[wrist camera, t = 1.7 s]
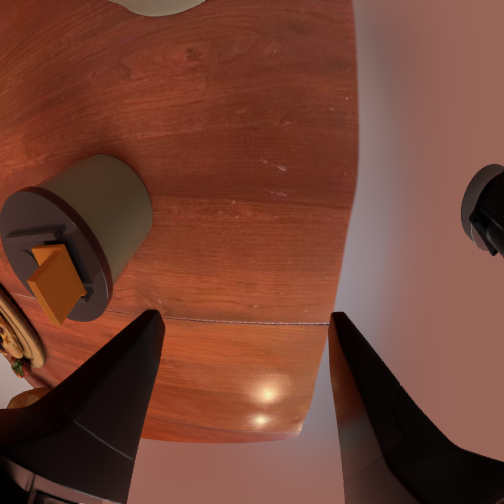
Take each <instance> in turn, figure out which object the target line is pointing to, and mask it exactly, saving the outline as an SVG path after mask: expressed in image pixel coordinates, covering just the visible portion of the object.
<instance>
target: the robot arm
mask: <svg viewBox="0 0 504 504" xmlns="http://www.w3.org/2000/svg"><path fill="white" fill-rule="evenodd" d="M474 218H475V219H474ZM473 219H474V220H473ZM469 221H470V223H471V224H472V226H473V227H474V229H475V230H476V232H477V233H478V235H479V236H480V238H481V239H482V241H483V242H484V244H485V245H486V247H487V249H488V250H489V252H490V253H491V255H492V256H495V255H496V254H497V253H498V252H499V253H500V254H501V255H502V256H503V258H504V170H503V172H502V173H501V175H500V176H499V177H498V179H497V180H496V182H495V183H494V185H493V186H492V187H491V189H490V190H489V191H488V193H487V194H486V195H485V197H484V198H483V199H482V201H481V202H480V203H479V204H478V206H477V207H476V208H475V209H474V211H473V212H472V213H471V214H470V216H469ZM164 335H165V324H164V322H163V320H162V317H161V315H160V313H159V311H158V310H154V309H147V310H146V311H144V312H143V313H142V314H141V315H140V316H138V317H137V318H136V319H135V320H134V321H132V322H131V323H130V324H129V325H128V326H127V327H125V328H124V329H123V330H122V331H121V332H120V333H118V334H117V335H116V336H115V337H114V338H113V339H111V340H110V341H109V342H108V343H107V344H106V345H104V346H103V347H102V348H101V349H100V350H99V351H97V352H96V353H95V354H94V355H93V356H92V357H91V358H89V359H88V360H87V361H86V362H85V363H84V364H83V365H81V367H79V368H78V369H77V370H76V371H74V372H73V373H72V374H71V375H70V376H69V377H67V378H66V379H65V380H64V381H63V382H61V383H60V384H59V385H57V386H56V387H55V388H53V389H52V390H51V391H49V392H48V393H47V394H45V395H44V396H43V397H41V398H40V399H38V400H37V401H36V402H34V403H33V404H31V405H29V406H26V407H22V408H9V409H0V504H102V501H103V500H106V501H109V502H113V503H117V504H127V499H128V494H129V488H130V483H131V478H132V473H133V468H134V464H135V462H134V461H135V458H136V454H137V450H138V445H139V441H140V437H141V432H142V428H143V424H144V420H145V416H146V412H147V408H148V405H149V401H150V397H151V393H152V390H153V386H154V382H155V379H156V375H157V372H158V368H159V363H160V357H161V351H162V346H163V340H164ZM328 341H329V363H330V377H331V384H332V391H333V397H334V404H335V411H336V419H337V426H338V434H339V442H340V450H341V460H342V471H343V480H344V495H345V504H504V462H502V461H499V460H495V459H492V458H489V457H486V456H483V455H480V454H476V453H474V452H471V451H468V450H464V449H462V448H460V447H458V446H457V445H455V444H454V443H452V442H451V441H450V440H449V439H448V438H447V437H446V436H445V435H444V434H443V433H442V432H441V431H440V430H439V429H438V428H437V427H436V425H434V423H433V422H432V421H431V420H430V419H429V418H428V417H427V416H426V415H425V414H424V413H423V411H422V410H421V409H420V408H419V407H418V406H417V405H416V404H415V402H414V401H413V400H412V398H411V397H410V396H409V395H408V393H407V392H406V391H405V389H404V388H403V387H402V386H400V383H399V382H398V380H397V379H396V378H395V376H394V375H393V374H392V372H391V371H390V370H389V368H388V367H387V366H386V365H385V363H384V362H383V361H382V359H381V358H380V357H379V355H378V354H377V353H376V352H375V350H374V349H373V348H372V346H371V345H370V344H369V343H368V341H367V340H366V339H365V338H364V336H363V335H362V334H361V333H360V331H359V330H358V329H357V328H356V326H355V325H354V324H353V323H352V321H351V320H350V319H349V318H348V316H347V315H346V314H345V313H344V312H332V313H331V317H330V322H329V328H328Z"/></svg>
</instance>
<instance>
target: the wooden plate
mask: <svg viewBox="0 0 504 504" xmlns="http://www.w3.org/2000/svg"><path fill="white" fill-rule="evenodd" d="M1 352H2V354H3V355H8V354H11V355H12V357H11V360H10V363H11V368H12V369H13V372H14V373H15V374H16V375H17V376H18V377H20V378H23V377H26V376H28V375H30V373H31V366H32V367H36V368H40V367H42V366H44V365H45V363H46V354H45V351H44V348H43V346H42V344H41V342H40V340H39V339H38V337H37V335H36V334H35V332H34V331H33V329H32V328H31V326H30V325H29V324H28V322H27V321H26V319H25V318H24V317H23V315H22V314H21V313H20V311H19V310H18V309H17V307H16V306H15V305H14V304H13V302H12V301H11V300H10V299H9V297H8V296H7V295H6V294H5V292H4V291H3V290H2V289H1V288H0V353H1Z"/></svg>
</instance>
